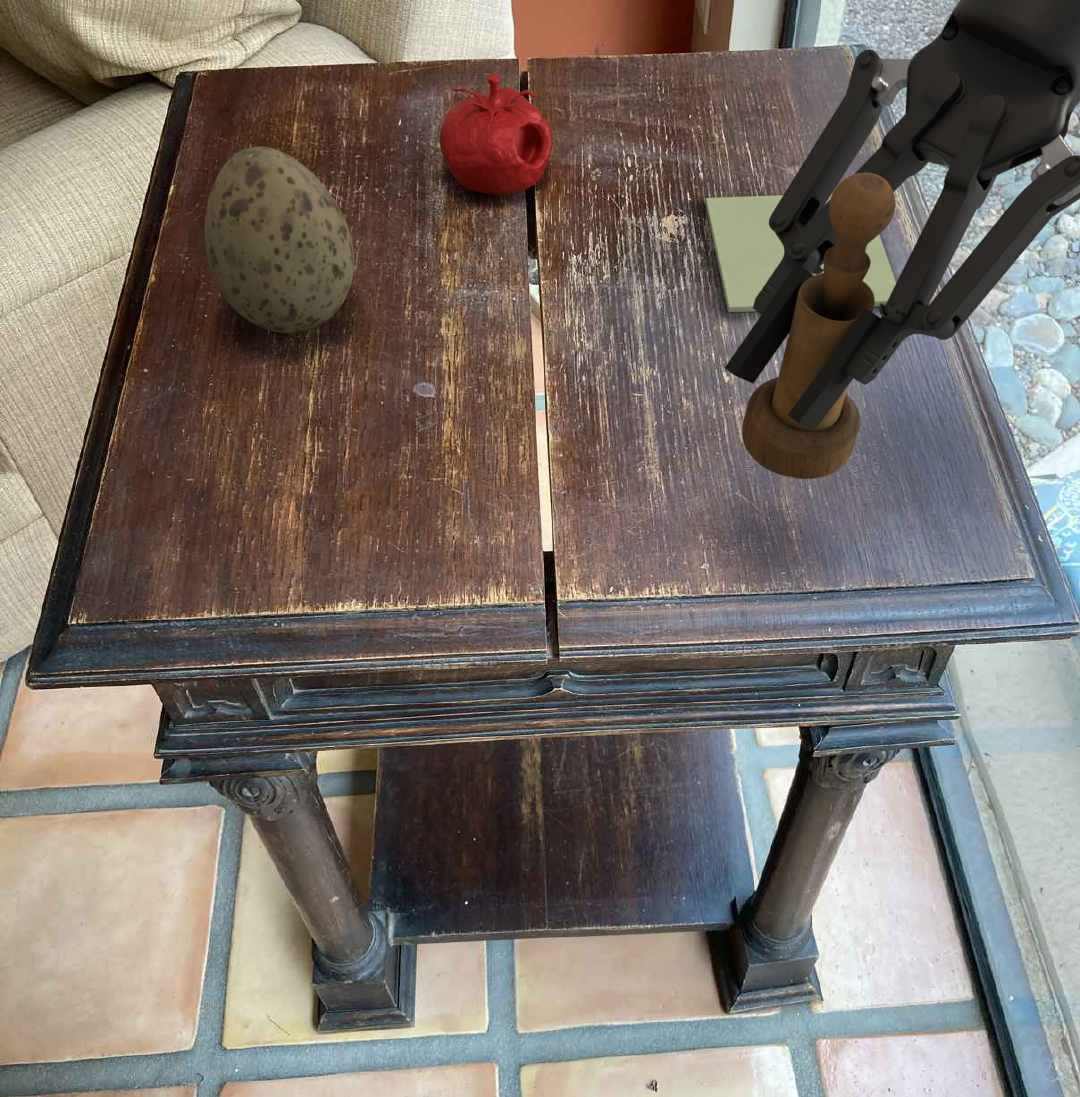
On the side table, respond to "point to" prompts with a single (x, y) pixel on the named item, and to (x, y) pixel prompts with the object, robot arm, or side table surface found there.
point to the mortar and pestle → (821, 341)
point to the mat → (767, 250)
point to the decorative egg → (277, 242)
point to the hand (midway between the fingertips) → (770, 398)
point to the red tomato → (496, 140)
